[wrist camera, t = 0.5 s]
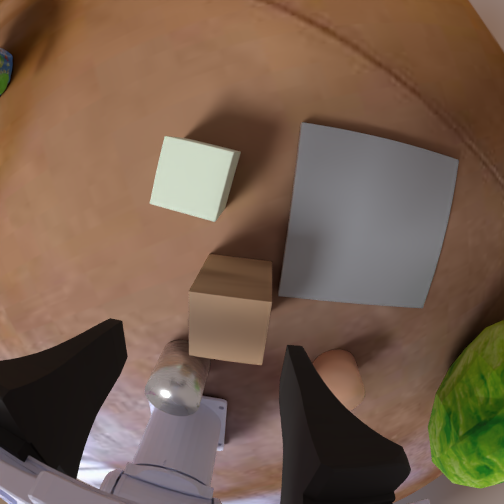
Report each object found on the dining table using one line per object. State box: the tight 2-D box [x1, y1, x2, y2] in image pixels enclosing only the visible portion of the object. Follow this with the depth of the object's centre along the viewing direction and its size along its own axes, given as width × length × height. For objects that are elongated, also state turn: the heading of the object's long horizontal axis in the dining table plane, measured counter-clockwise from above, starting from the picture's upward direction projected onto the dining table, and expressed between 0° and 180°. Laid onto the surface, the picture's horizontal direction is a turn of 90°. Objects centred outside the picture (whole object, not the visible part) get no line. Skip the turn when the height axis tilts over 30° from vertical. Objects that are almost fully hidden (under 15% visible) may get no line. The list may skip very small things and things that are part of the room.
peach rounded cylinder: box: [313, 349, 365, 411], centre depth 23 cm, size 4×4×4 cm
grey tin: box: [145, 340, 210, 416], centre depth 23 cm, size 4×4×5 cm
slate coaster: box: [278, 122, 459, 308], centre depth 20 cm, size 12×12×1 cm
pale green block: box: [150, 136, 241, 222], centre depth 18 cm, size 4×4×4 cm
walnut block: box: [189, 254, 272, 365], centre depth 19 cm, size 4×4×6 cm
